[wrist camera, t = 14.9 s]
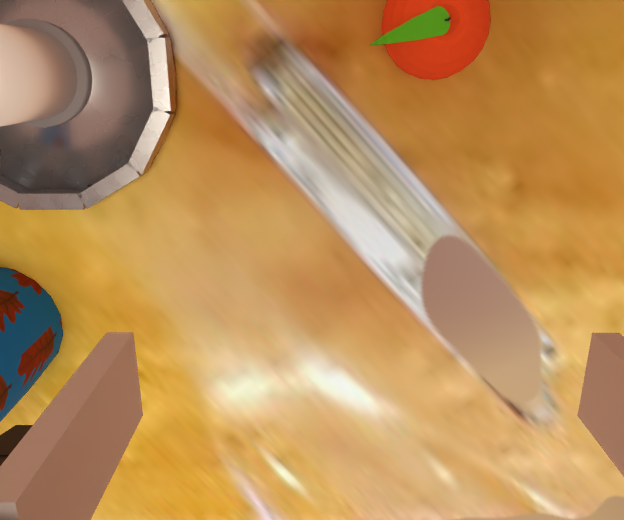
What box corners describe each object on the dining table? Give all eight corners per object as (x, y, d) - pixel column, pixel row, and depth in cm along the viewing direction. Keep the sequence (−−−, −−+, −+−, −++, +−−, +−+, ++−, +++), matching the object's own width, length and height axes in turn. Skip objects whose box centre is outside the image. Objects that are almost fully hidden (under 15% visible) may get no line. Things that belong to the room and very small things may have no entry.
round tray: (-115, -73, 38) (-143, -82, 36) (164, -74, 38) (154, -83, 35) (-55, 202, 44) (-75, 209, 42) (185, 202, 44) (178, 209, 42)
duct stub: (1, 125, 41) (-81, 140, 33) (-18, 20, 39) (-111, 6, 30) (98, 125, 41) (41, 140, 33) (85, 19, 39) (20, 5, 30)
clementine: (376, 96, 41) (388, 101, 34) (350, -2, 39) (357, -17, 32) (483, 61, 40) (516, 59, 34) (462, -41, 38) (493, -65, 32)
